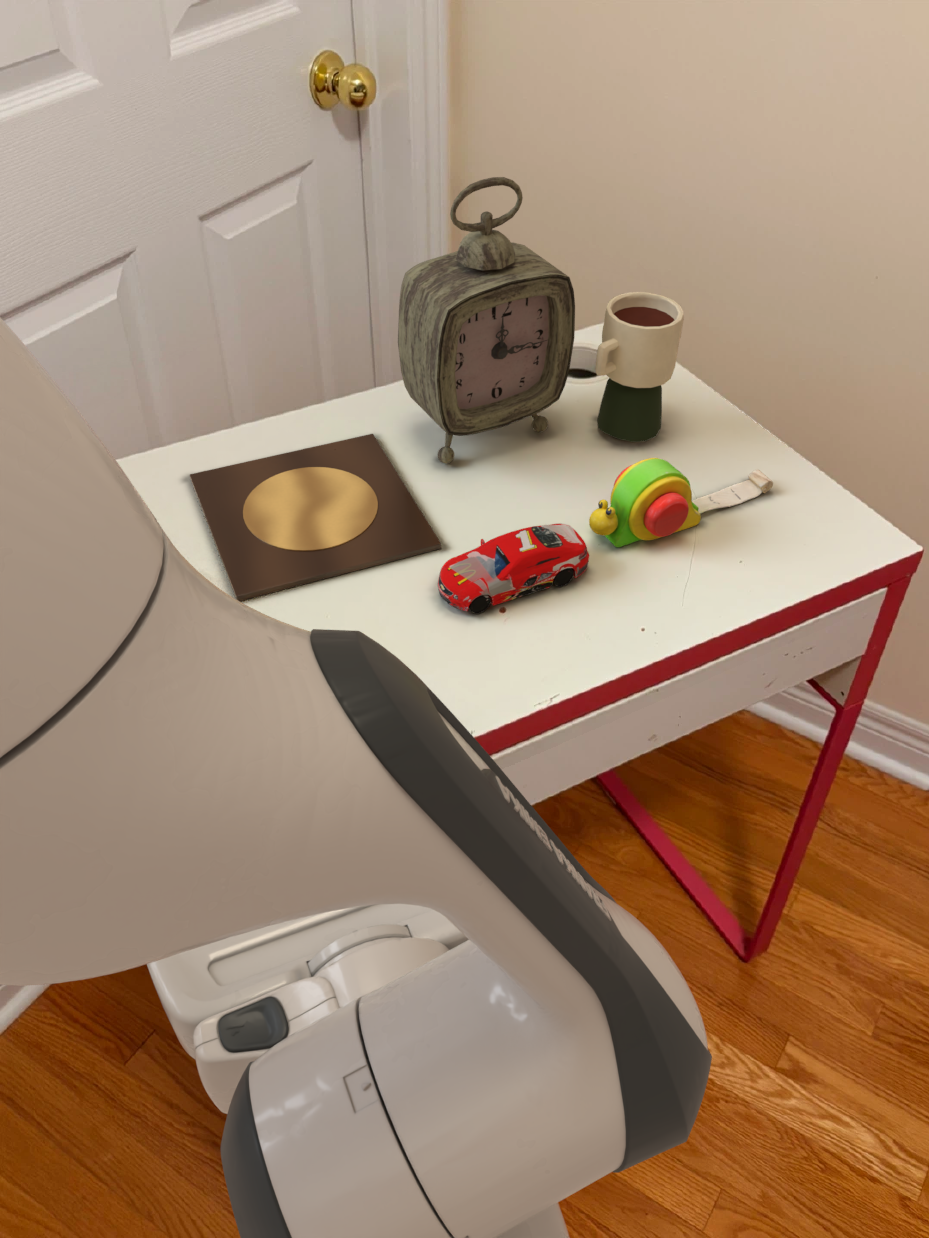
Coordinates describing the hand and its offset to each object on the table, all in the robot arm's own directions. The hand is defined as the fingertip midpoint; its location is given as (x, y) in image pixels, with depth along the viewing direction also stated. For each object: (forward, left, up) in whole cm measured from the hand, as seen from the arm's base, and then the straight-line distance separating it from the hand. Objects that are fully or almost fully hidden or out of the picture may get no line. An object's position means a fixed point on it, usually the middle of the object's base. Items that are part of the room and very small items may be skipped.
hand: (301, 804), depth 60 cm
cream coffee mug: (+44, +38, -9) cm, 59 cm away
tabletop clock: (+30, +43, -9) cm, 53 cm away
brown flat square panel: (+11, +37, -9) cm, 40 cm away
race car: (+24, +22, -9) cm, 34 cm away
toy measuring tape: (+41, +24, -9) cm, 49 cm away
